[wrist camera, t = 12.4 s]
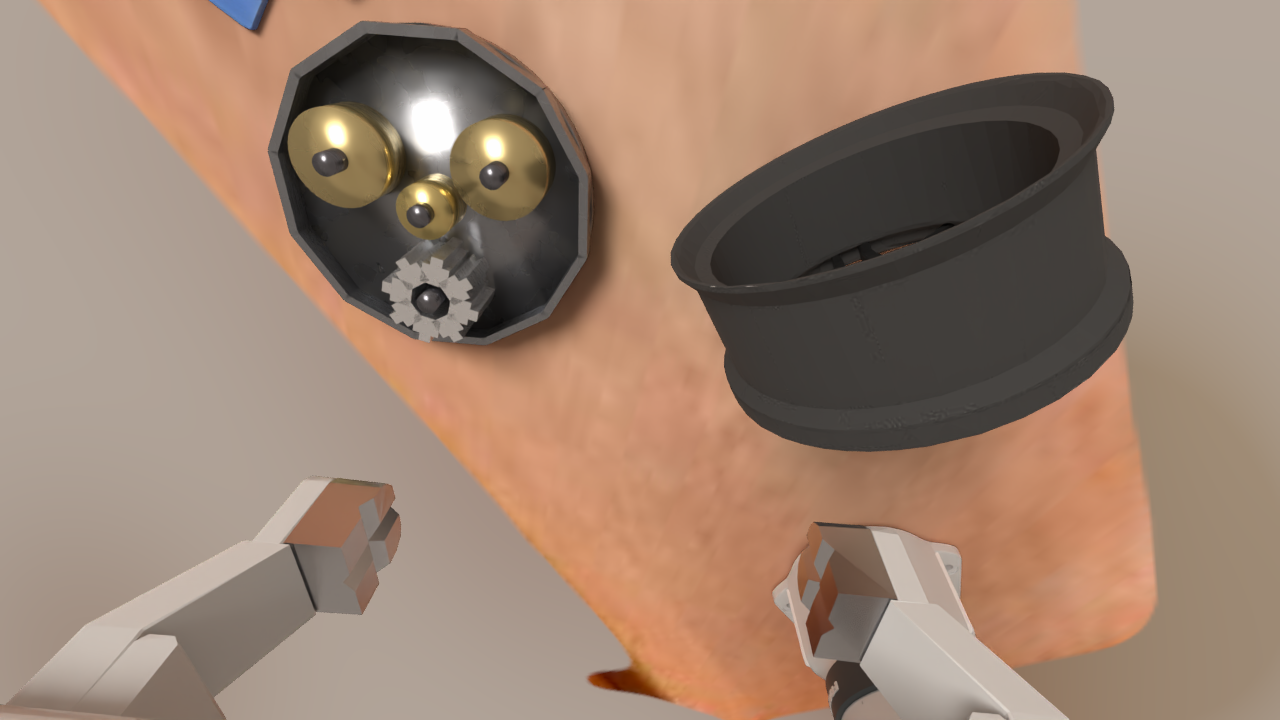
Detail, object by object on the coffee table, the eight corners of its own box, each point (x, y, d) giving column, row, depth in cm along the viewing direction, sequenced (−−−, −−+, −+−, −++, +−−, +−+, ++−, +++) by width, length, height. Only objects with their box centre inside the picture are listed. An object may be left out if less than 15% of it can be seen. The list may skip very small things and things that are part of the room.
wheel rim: (720, 314, 43) (750, 504, 25) (670, 208, 39) (664, 349, 21) (997, 199, 37) (1274, 343, 20) (971, 61, 33) (1288, 92, 16)
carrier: (644, 264, 41) (640, 295, 36) (421, 363, 46) (391, 402, 42) (484, -50, 32) (449, -65, 27) (231, 121, 37) (164, 135, 32)
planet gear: (511, 299, 42) (497, 323, 38) (441, 331, 43) (421, 356, 40) (461, 221, 39) (440, 239, 35) (388, 258, 40) (361, 279, 37)
